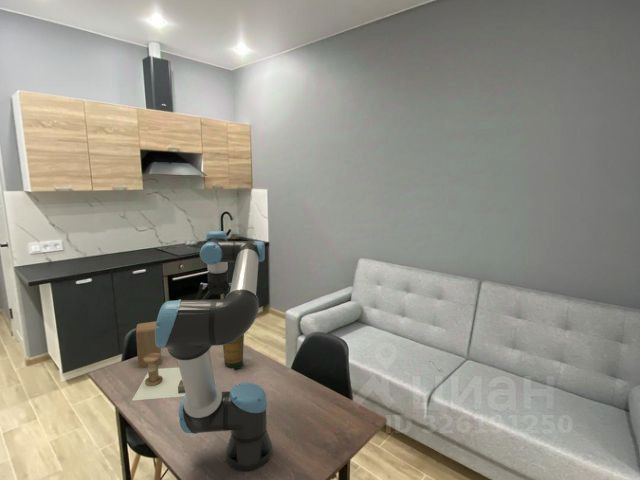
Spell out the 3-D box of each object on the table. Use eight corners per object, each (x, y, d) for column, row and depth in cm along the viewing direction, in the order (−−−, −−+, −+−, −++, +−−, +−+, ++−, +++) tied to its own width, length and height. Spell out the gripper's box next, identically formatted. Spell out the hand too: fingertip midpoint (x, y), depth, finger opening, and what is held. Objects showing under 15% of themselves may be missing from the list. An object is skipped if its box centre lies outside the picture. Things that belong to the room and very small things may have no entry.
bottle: (218, 369, 169) (216, 314, 164) (230, 358, 179) (228, 307, 174) (237, 373, 166) (236, 317, 161) (248, 362, 176) (247, 309, 171)
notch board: (188, 392, 148) (187, 385, 148) (178, 393, 148) (177, 386, 147) (195, 368, 167) (195, 363, 166) (187, 369, 166) (186, 363, 166)
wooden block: (139, 360, 175) (136, 323, 172) (161, 356, 180) (158, 320, 176) (138, 370, 167) (135, 331, 163) (161, 366, 171) (159, 327, 167)
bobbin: (160, 385, 153) (158, 360, 151) (143, 386, 152) (141, 361, 150) (164, 376, 160) (162, 352, 158) (148, 377, 158) (146, 353, 156)
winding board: (188, 398, 146) (188, 395, 146) (131, 403, 142) (131, 400, 142) (197, 368, 169) (197, 366, 169) (149, 371, 166) (149, 369, 165)
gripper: (250, 267, 141) (251, 317, 145) (185, 269, 137) (188, 320, 140) (250, 272, 134) (251, 324, 137) (181, 274, 129) (184, 328, 133)
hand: (219, 322), depth 139 cm, fingers open, 13 cm apart
